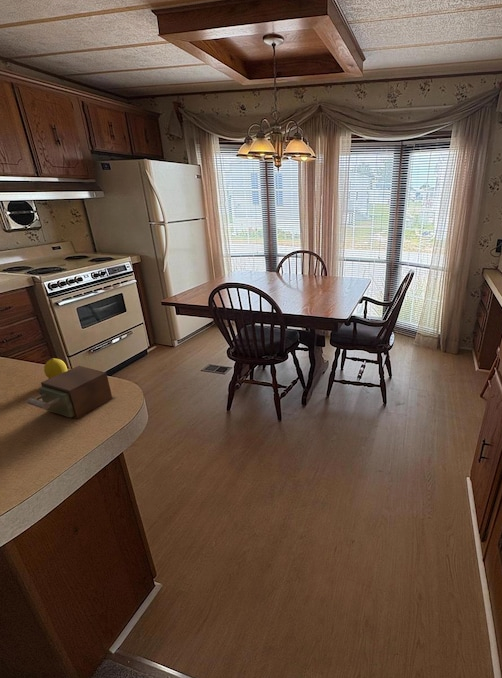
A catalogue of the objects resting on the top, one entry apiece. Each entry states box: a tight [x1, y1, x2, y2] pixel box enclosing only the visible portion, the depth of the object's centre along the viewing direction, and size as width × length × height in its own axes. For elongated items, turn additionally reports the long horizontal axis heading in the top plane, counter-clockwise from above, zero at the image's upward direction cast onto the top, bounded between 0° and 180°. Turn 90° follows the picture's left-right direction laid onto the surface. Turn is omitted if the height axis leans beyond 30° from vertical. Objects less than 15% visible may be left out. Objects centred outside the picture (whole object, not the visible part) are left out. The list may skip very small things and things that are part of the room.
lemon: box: [43, 357, 68, 379], centre depth 106 cm, size 6×6×8 cm
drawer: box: [26, 385, 75, 418], centre depth 92 cm, size 14×9×7 cm
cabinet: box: [40, 365, 113, 419], centre depth 95 cm, size 11×11×9 cm
